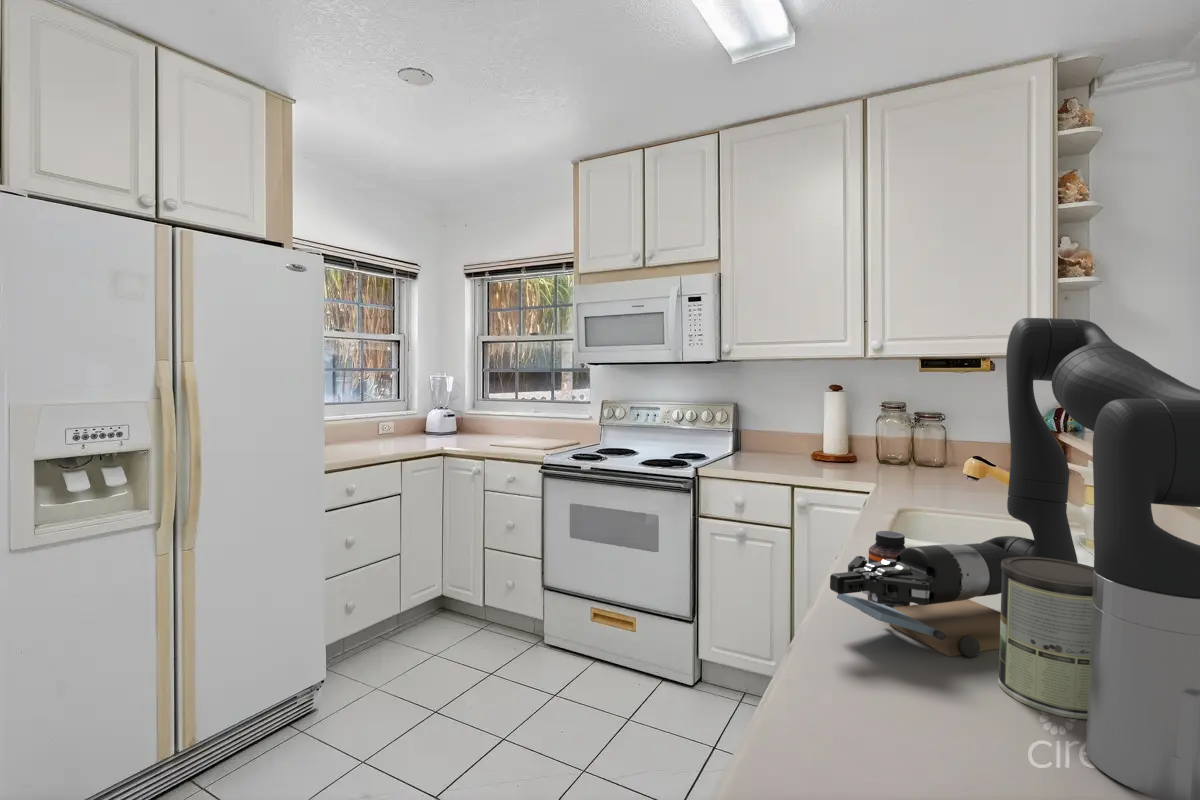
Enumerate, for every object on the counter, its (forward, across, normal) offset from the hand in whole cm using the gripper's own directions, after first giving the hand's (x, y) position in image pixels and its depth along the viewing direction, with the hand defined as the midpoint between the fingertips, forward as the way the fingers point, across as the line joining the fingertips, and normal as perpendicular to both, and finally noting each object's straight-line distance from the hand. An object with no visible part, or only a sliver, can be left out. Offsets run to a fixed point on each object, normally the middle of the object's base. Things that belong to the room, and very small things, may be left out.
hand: (834, 584), depth 78 cm
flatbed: (-20, 0, +8) cm, 22 cm away
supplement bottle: (-18, -10, +9) cm, 23 cm away
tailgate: (-12, 0, +6) cm, 14 cm away
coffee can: (-16, +16, +9) cm, 25 cm away
